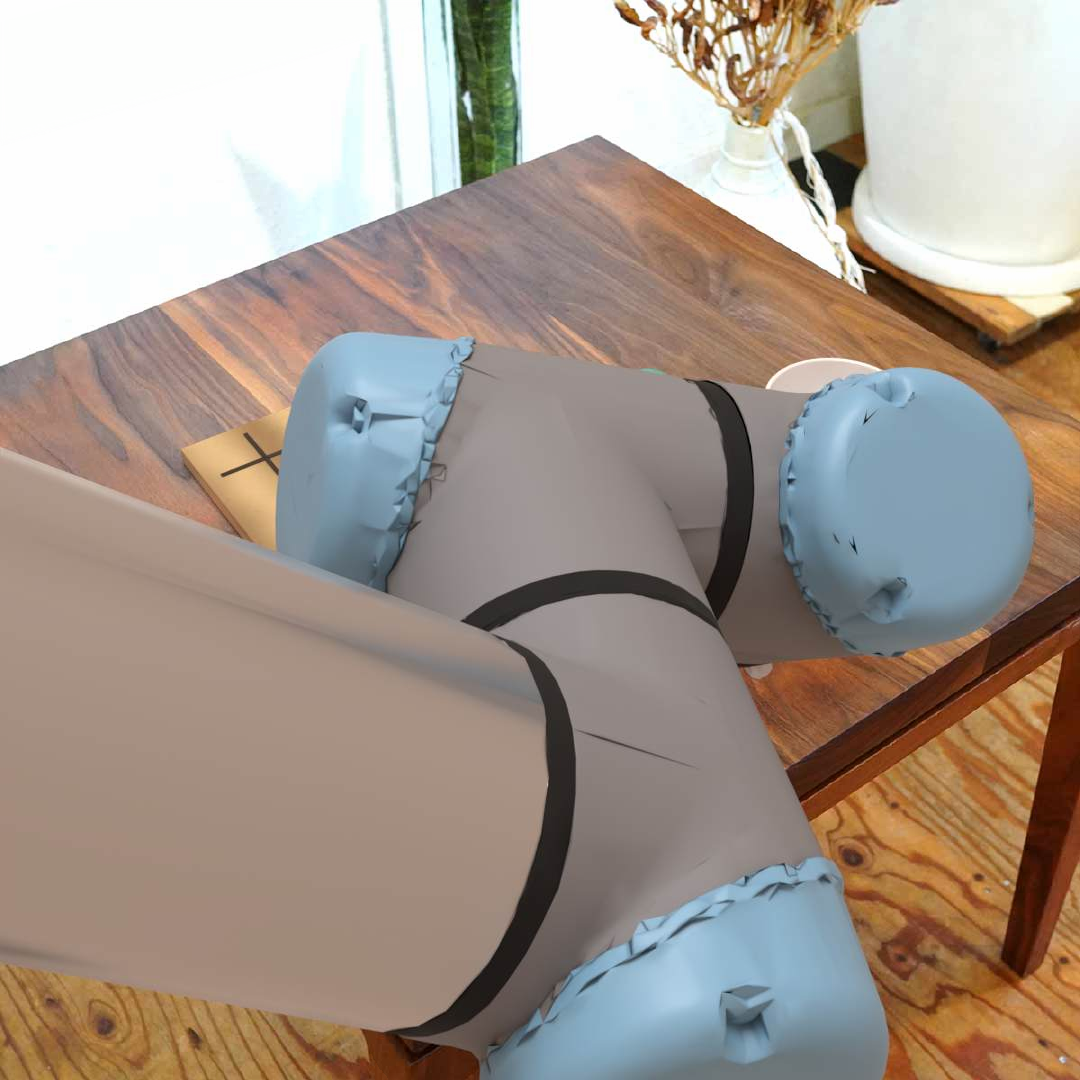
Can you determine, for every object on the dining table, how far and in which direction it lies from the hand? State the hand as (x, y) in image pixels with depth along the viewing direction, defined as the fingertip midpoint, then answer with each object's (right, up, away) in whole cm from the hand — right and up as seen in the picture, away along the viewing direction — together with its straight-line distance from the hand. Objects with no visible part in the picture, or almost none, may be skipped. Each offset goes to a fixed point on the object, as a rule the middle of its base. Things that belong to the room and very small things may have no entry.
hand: (462, 622), depth 72 cm
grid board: (-5, +7, +18) cm, 20 cm away
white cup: (+20, +4, +14) cm, 25 cm away
